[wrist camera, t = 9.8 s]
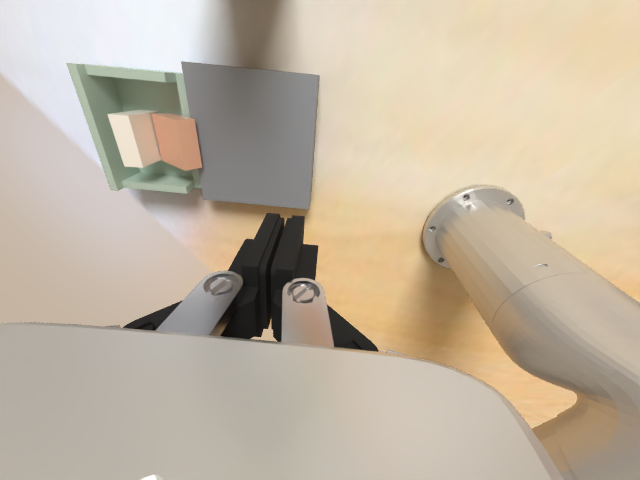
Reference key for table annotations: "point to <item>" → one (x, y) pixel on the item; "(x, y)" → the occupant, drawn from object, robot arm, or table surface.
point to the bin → (127, 95)
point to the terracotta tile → (177, 140)
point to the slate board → (253, 133)
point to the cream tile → (135, 137)
